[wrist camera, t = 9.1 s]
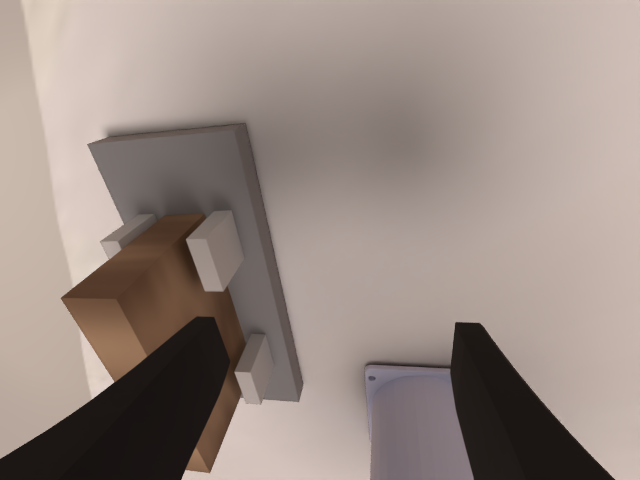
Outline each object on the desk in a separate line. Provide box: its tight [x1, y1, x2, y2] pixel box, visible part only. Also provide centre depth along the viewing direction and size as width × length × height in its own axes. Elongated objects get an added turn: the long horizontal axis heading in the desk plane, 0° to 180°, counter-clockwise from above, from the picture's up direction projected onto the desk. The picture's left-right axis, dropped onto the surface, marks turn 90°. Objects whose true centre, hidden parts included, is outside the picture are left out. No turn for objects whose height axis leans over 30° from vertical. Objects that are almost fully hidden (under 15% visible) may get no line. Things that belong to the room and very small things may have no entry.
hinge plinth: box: [87, 124, 303, 405], centre depth 20 cm, size 20×8×4 cm, turn 7°
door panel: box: [61, 214, 246, 473], centre depth 18 cm, size 12×3×7 cm, turn 7°
